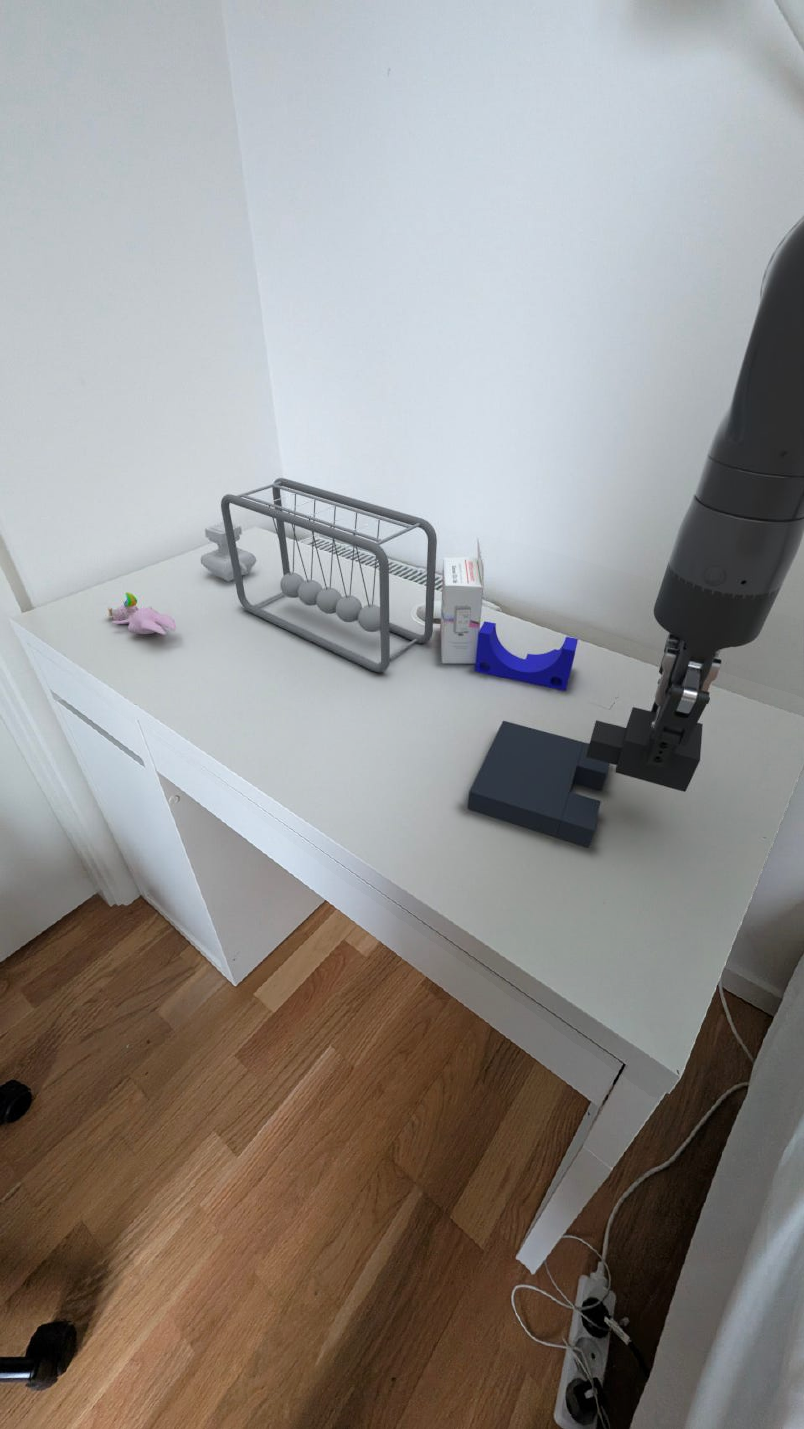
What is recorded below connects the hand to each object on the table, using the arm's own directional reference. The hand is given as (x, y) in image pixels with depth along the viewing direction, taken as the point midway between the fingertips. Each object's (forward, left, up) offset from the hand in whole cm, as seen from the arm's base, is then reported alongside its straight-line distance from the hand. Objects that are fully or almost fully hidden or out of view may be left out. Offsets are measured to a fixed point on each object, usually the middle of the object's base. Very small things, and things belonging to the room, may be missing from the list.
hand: (657, 743), depth 52 cm
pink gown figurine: (+69, -8, -10) cm, 70 cm away
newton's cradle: (+45, -20, -10) cm, 50 cm away
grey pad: (+9, 0, -9) cm, 13 cm away
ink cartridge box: (+26, -22, -10) cm, 35 cm away
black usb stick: (+1, 0, -2) cm, 3 cm away
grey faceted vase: (+69, -28, -10) cm, 75 cm away
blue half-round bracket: (+16, -20, -10) cm, 27 cm away
